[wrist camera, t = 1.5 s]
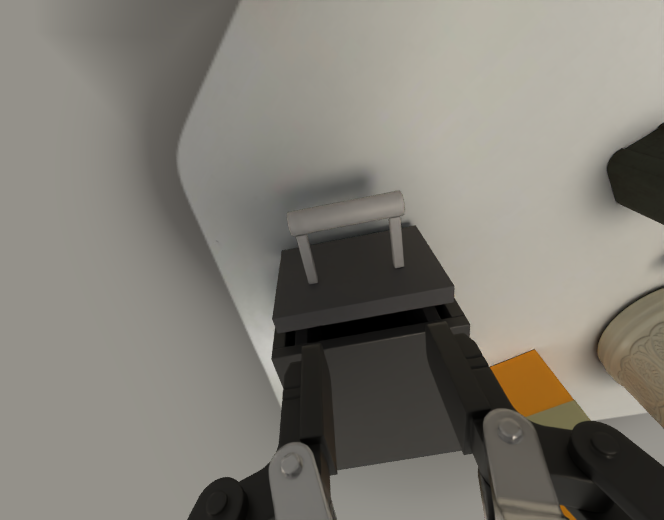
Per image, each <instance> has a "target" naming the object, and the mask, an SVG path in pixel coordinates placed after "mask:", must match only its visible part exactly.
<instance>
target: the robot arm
mask: <svg viewBox="0 0 664 520" xmlns="http://www.w3.org/2000/svg"><path fill="white" fill-rule="evenodd" d="M425 335H426V354H427V360H428V364H429V367H430V370H431V372H432V375H433V377H434V380H435V383H436V385H437V388H438V390H439V393H440V395H441V398H442V400H443V403H444V406H445V408H446V411H447V413H448V416H449V418H450V421H451V424H452V426H453V429H454V431H455V434H456V436H457V439H458V442H459V444H460V447H461V449H462V452H463V454H464V455H466V454H473V455H474V457H475V460H476V462H477V465H478V478H479V485H480V491H481V498H482V504H483V511H484V518H485V520H570V519H569V518H568V517H566V516H565V515H564V514H563V512H562V510H561V508H560V505H563V506H565V508H566V509H567V510H568V511H569V512H570V513H571V514H572V515H573V516H574V518H575V519H576V520H664V466H662V465H661V464H660V463H659V462H657V461H656V460H655V459H654V458H652V457H651V456H650V455H648V454H647V453H646V452H645V451H643V450H642V449H641V448H640V447H638V446H637V445H636V444H635V443H633V442H632V441H631V440H629V439H628V438H627V437H626V436H625V435H623V434H622V433H621V432H619V431H618V430H616V429H615V428H613V427H611V426H609V425H607V424H604V423H601V422H596V421H583V422H580V423H578V424H576V425H575V426H574V428H573V430H569V429H563V428H556V427H550V426H544V425H540V424H537V423H534V422H532V421H530V420H528V419H527V418H526V417H524V416H523V415H522V414H520V413H519V412H517V410H516V409H515V408H514V407H513V406H512V404H511V402H510V401H509V399H508V397H507V396H506V394H505V392H504V391H503V389H502V387H501V385H500V384H499V382H498V380H497V379H496V377H495V375H494V373H493V372H492V370H491V368H490V367H489V366H488V363H487V361H486V360H485V358H484V357H483V356H482V353H481V351H480V349H479V348H478V346H477V344H476V343H475V342H474V341H473V340H472V339H471V338H469V337H468V336H467V335H466V334H464V333H459V334H454V335H453V333H452V331H451V329H450V327H449V325H448V324H447V322H446V321H444V322H438V323H432V324H427V325H425ZM283 389H284V390H283V398H282V399H283V401H282V410H281V423H280V436H279V445H278V448H277V451H276V453H275V454H274V456H273V458H272V459H271V461H270V462H269V463H268V464H267V465H266V466H265V468H263V469H262V470H260V471H258V472H257V473H254V474H253V475H251V476H249V477H247V478H245V479H243V480H241V481H240V482H238V481H237V480H235V479H233V478H230V477H223V478H220V479H217V480H215V481H214V482H212V483H211V484H209V486H207V487H206V488H205V489H204V490H203V492H202V493H201V495H200V496H199V498H198V500H197V502H196V504H195V506H194V508H193V509H192V511H191V514H190V515H189V518H188V519H187V520H337V517H336V514H335V510H334V507H333V504H332V500H331V494H330V475H336V474H337V461H336V446H335V432H334V417H333V402H332V388H331V378H330V372H329V368H328V364H327V361H326V357H325V354H324V350H323V347H322V344H321V343H317V344H312V345H306V346H302V353H301V361H297V362H291V363H290V365H289V367H288V369H287V371H286V373H285V374H284V385H283Z"/></svg>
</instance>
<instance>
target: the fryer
mask: <svg viewBox="0 0 664 520" xmlns="http://www.w3.org/2000/svg"><path fill="white" fill-rule="evenodd" d="M434 307H435V308H436V310H437V312H438V314H439V316H440V318H441V320H436V321H431V322H425V323H419V324H414V325H408V326H402V327H397V328H391V329H385V330H380V331H374V332H368V333H363V334H357V335H351V336H346V337H340V338H334V339H329V340H323V341H317V342H312V343H306V344H300V345H295V334H296V330H295V331H289V332H284V333H277V330H276V328H275V333H274V341H273V350H272V358H271V359H272V362H273V364H274V367H275V369H276V372H277V374H278V376H279V379H280V381H281V384H282V386H283V385H284V374H285V373H286V371H287V369H288V367H289V365H290V363H291V362H297V361H301V353H302V346H306V345H312V344H317V343H321V344H322V347H323V350H324V354H325V357H326V361H327V364H328V368H329V372H330V378H331V388H332V402H333V417H334V432H335V446H336V461H337V470H341V469H348V468H354V467H360V466H367V465H373V464H380V463H386V462H392V461H399V460H405V459H411V458H418V457H424V456H430V455H436V454H443V453H449V452H456V451H462V449H461V447H460V444H459V442H458V439H457V436H456V434H455V431H454V429H453V426H452V424H451V421H450V418H449V416H448V413H447V411H446V408H445V406H444V403H443V400H442V398H441V395H440V393H439V390H438V388H437V385H436V383H435V380H434V377H433V375H432V372H431V370H430V367H429V364H428V360H427V354H426V335H425V325H427V324H432V323H438V322H444V321H446V322H447V324H448V325H449V327H450V329H451V331H452V333H453V335H454V334H459V333H464V334H466V335H467V336H468V337H469V336H470V323H469V322H468V320H467V318H466V317H465V315H464V313H463V311H462V310H461V308H460V306H459V305H458V303H457V302H456V300H455V298H454V302H452V303H446V304H441V305H435V306H434Z"/></svg>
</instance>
